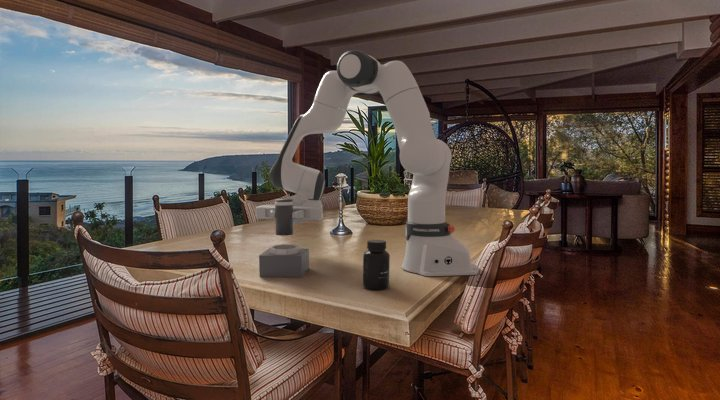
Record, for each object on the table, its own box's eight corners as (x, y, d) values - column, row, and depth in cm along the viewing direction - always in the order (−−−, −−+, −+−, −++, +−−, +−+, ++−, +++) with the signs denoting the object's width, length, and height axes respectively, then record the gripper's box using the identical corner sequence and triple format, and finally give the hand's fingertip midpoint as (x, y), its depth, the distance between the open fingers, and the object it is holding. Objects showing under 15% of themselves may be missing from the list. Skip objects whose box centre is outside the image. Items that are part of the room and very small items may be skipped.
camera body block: (309, 268, 128) (308, 243, 127) (301, 277, 118) (301, 250, 117) (270, 267, 129) (269, 243, 128) (259, 276, 119) (258, 250, 118)
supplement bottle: (387, 291, 105) (387, 244, 104) (360, 290, 107) (360, 243, 105) (391, 283, 112) (391, 239, 111) (365, 282, 113) (365, 238, 112)
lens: (295, 232, 125) (295, 198, 124) (291, 235, 120) (290, 200, 119) (278, 232, 125) (277, 198, 124) (273, 235, 120) (272, 200, 119)
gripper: (262, 199, 135) (247, 204, 121) (326, 200, 134) (318, 204, 120) (263, 219, 136) (248, 225, 122) (326, 219, 134) (318, 226, 120)
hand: (283, 215), depth 121 cm, fingers closed on lens, 5 cm apart
